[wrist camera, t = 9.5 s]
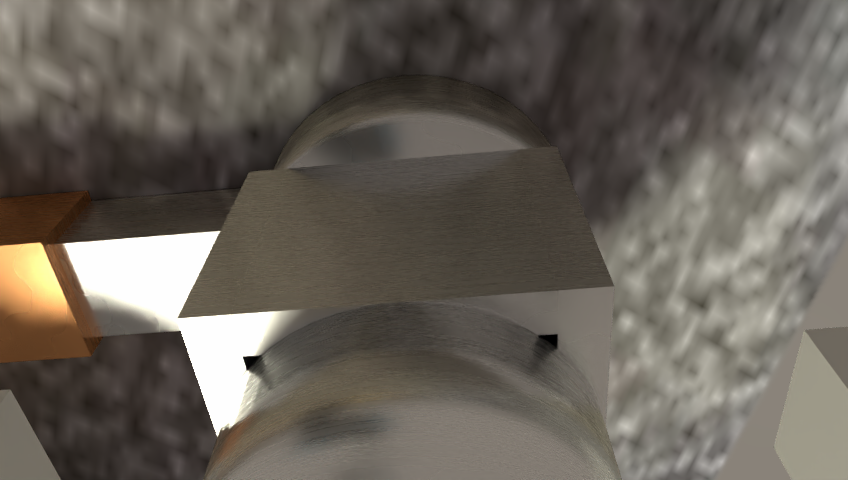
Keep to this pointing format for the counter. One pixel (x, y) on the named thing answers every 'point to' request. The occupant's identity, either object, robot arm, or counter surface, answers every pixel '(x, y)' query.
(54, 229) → the ratchet
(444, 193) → the metal knob on block
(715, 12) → the counter surface
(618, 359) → the counter surface
